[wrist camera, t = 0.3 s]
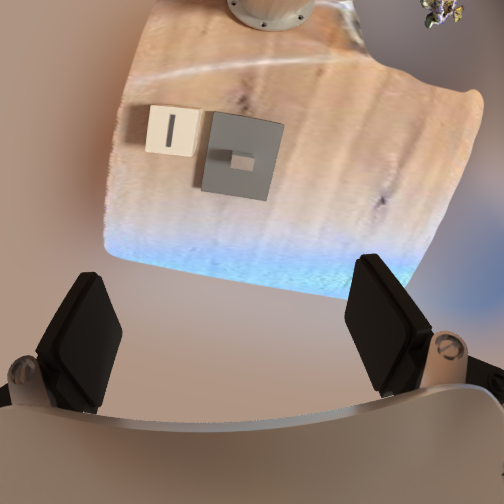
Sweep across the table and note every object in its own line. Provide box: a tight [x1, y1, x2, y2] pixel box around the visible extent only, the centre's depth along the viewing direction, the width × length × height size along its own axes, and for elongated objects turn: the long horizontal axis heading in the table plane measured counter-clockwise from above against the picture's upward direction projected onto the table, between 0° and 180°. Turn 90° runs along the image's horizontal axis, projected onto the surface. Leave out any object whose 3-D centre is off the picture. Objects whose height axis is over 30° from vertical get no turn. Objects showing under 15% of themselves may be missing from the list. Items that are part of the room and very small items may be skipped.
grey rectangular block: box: [230, 150, 255, 171], centre depth 38 cm, size 2×3×4 cm, turn 78°
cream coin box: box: [145, 104, 203, 157], centre depth 35 cm, size 6×6×5 cm
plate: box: [201, 112, 284, 201], centre depth 40 cm, size 12×10×2 cm
